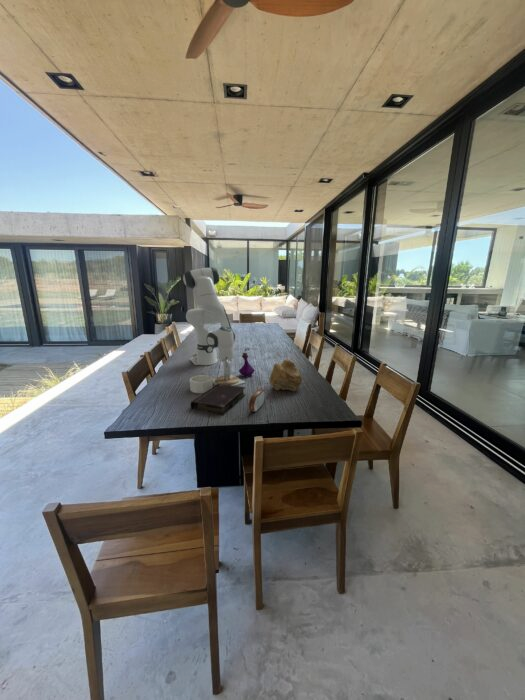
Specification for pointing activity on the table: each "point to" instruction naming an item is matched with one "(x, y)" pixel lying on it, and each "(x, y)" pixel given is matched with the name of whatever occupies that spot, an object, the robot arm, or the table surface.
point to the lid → (223, 380)
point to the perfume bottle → (246, 366)
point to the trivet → (233, 384)
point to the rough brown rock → (285, 376)
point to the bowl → (201, 383)
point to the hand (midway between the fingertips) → (226, 377)
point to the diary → (219, 399)
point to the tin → (257, 400)
